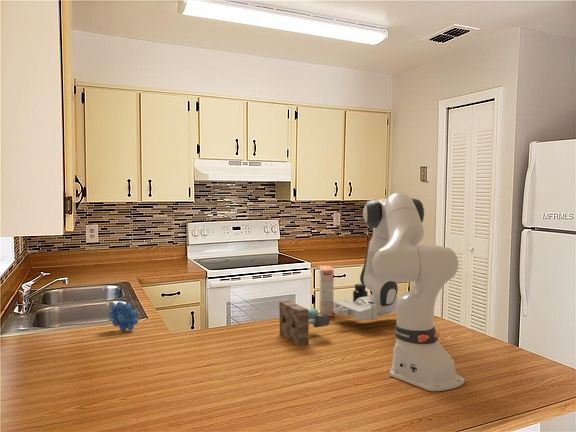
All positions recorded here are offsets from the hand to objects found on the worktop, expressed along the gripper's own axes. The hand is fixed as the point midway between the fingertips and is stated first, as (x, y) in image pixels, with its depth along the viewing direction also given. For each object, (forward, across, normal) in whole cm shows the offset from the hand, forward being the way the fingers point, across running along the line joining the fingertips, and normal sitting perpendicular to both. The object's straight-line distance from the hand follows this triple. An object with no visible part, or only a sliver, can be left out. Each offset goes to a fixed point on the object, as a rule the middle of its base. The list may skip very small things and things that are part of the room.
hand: (335, 311), depth 190 cm
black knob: (+16, +8, +2) cm, 18 cm away
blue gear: (+77, -38, +7) cm, 87 cm away
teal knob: (+16, 0, +2) cm, 16 cm away
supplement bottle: (-26, -19, +7) cm, 33 cm away
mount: (+21, +4, +7) cm, 23 cm away
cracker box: (-10, -23, +7) cm, 26 cm away
